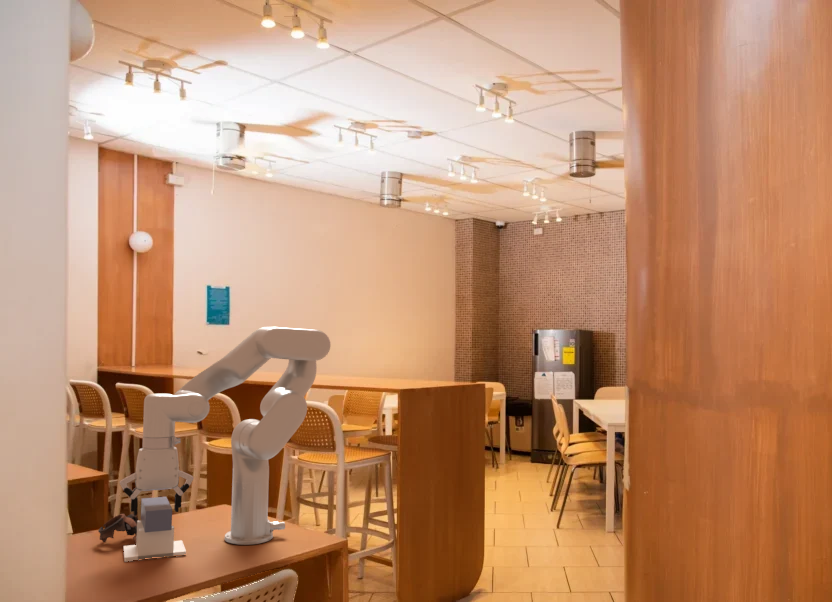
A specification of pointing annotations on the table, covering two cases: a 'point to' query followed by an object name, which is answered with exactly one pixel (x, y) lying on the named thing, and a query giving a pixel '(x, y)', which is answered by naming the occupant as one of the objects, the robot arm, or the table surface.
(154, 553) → the display stand
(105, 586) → the table surface
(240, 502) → the robot arm
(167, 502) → the blue-grey rectangular block
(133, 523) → the pottery mug
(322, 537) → the table surface
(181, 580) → the table surface
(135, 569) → the table surface
